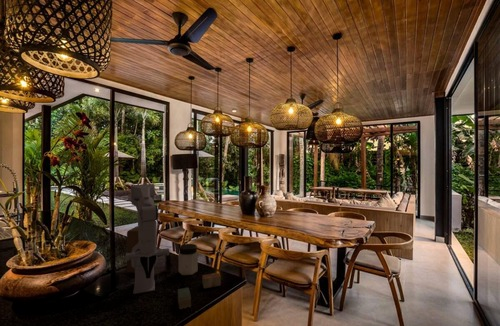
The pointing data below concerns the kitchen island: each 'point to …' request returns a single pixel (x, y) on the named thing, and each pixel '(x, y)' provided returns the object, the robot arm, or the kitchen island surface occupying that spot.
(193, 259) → the jar
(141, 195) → the robot arm
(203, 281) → the rust face block
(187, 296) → the teal face block
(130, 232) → the block
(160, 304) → the kitchen island surface
